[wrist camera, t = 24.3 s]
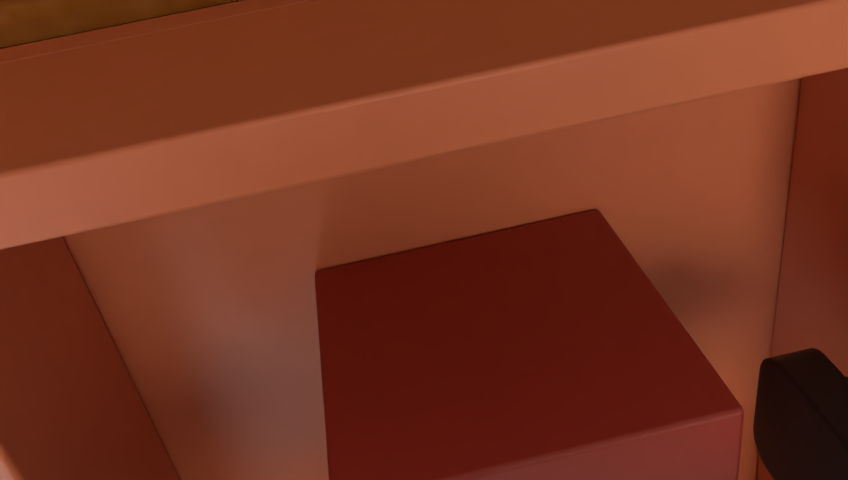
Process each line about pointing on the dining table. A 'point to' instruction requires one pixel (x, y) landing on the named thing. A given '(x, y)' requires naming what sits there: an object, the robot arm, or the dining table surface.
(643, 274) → the red block
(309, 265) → the red bin
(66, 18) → the dining table surface
